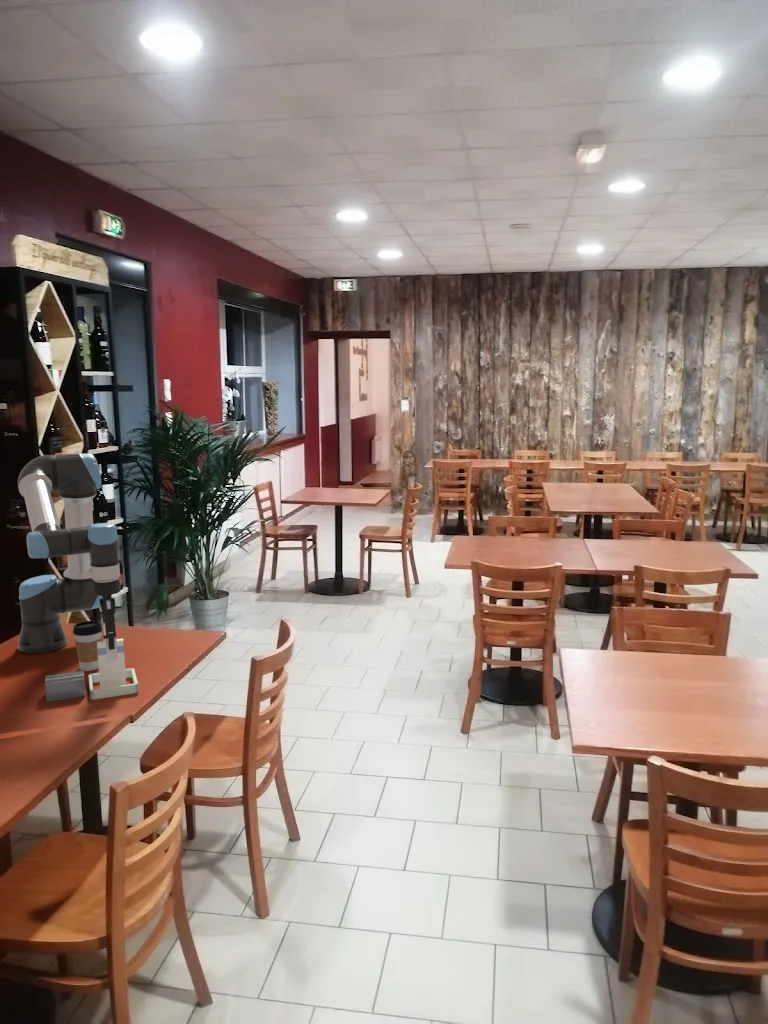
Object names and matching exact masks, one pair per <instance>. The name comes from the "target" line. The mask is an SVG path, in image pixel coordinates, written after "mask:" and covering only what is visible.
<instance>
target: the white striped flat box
mask: <svg viewBox="0 0 768 1024" xmlns="http://www.w3.org/2000/svg"><path fill="white" fill-rule="evenodd" d="M116 642H117V657H118V660H110V661H107V651H106V641H104V640H102V641H99V642H97V650H98V664H99V668H98V673H99V677H100V682H99V687H100V688H99V689H101V688H108V687H114V686H121V685H127V678H126V671H125V669H126V659H125V644H124V643H125V642H124V638H116Z"/></svg>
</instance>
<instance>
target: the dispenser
mask: <svg viewBox="0 0 768 1024" xmlns="http://www.w3.org/2000/svg"><path fill="white" fill-rule="evenodd" d="M44 683H45V684H44V686H45V687H44V688H45V700H46V703H49V702H56V701H63V700H69V699H76V698H84V697H87V695H86V681H85V671H84V670H78V671H72V672H71V671H70V672H62V673H56V674H55V673H54V674H48V675H45V679H44Z"/></svg>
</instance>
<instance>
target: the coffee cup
mask: <svg viewBox="0 0 768 1024" xmlns="http://www.w3.org/2000/svg"><path fill="white" fill-rule="evenodd" d="M102 631H103V626H102V623H101V620H84V621H80V622H76V623H75V624H73V630H72V634H73V635H74V644H75V648H76V655H77V659H78V666H79V670H80V671H83V670H84V672H89V671H94V670H99V664H98V650H97V642H99V641H103V637H102Z"/></svg>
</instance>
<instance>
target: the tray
mask: <svg viewBox="0 0 768 1024" xmlns="http://www.w3.org/2000/svg"><path fill="white" fill-rule="evenodd" d="M125 671H126V679H129V678H131V680H132V683H130V684H129V683H128V684H126V685H121V686H114V687H108V688H101V689H100V688H96V689H94V686H93V685H94V684H95V683H100V677H99V672H96V673H95V672H93V673H88V684H89V685H88V686H89V696H90V700H91V701H93V700H100V699H105V698H112V697H119V696H124V695H125V696H126V695H132V694H139V691H140V689H139V682H138V678H137V675H136V670H135V668H134V667H131V668H125Z"/></svg>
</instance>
